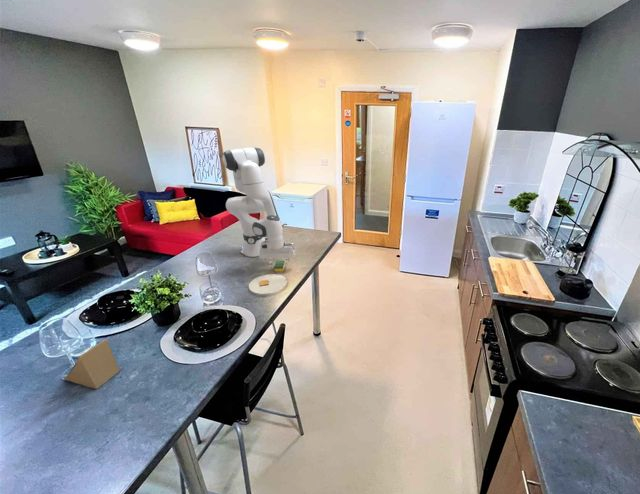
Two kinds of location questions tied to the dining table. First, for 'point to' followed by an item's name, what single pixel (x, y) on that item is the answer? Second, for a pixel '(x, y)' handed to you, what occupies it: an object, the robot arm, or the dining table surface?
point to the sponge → (279, 265)
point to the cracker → (264, 282)
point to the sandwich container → (94, 366)
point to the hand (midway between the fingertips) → (278, 264)
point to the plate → (274, 284)
